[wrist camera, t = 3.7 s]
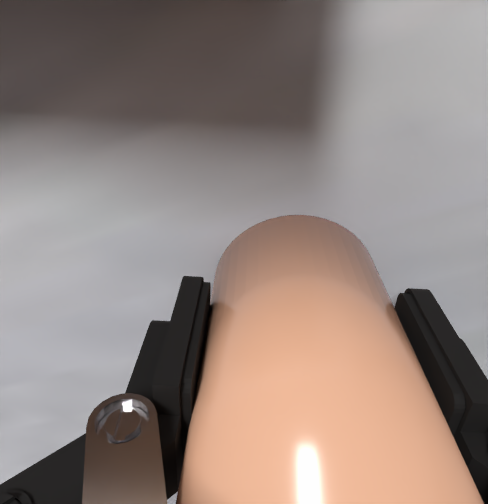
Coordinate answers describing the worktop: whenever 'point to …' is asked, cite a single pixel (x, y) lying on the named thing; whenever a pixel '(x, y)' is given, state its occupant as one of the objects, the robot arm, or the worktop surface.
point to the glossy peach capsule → (313, 382)
